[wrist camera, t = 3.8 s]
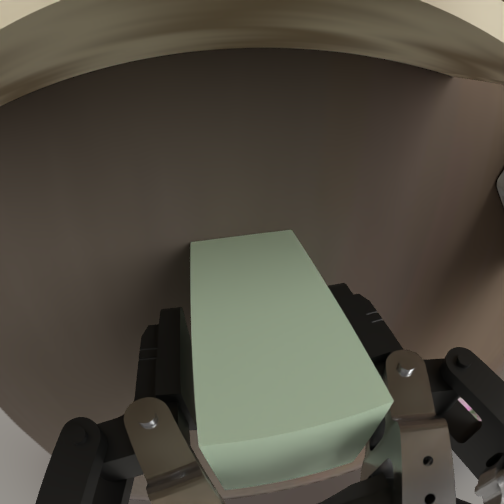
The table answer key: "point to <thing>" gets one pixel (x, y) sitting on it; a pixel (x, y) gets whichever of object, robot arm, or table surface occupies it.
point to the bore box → (243, 34)
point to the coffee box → (501, 186)
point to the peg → (275, 364)
